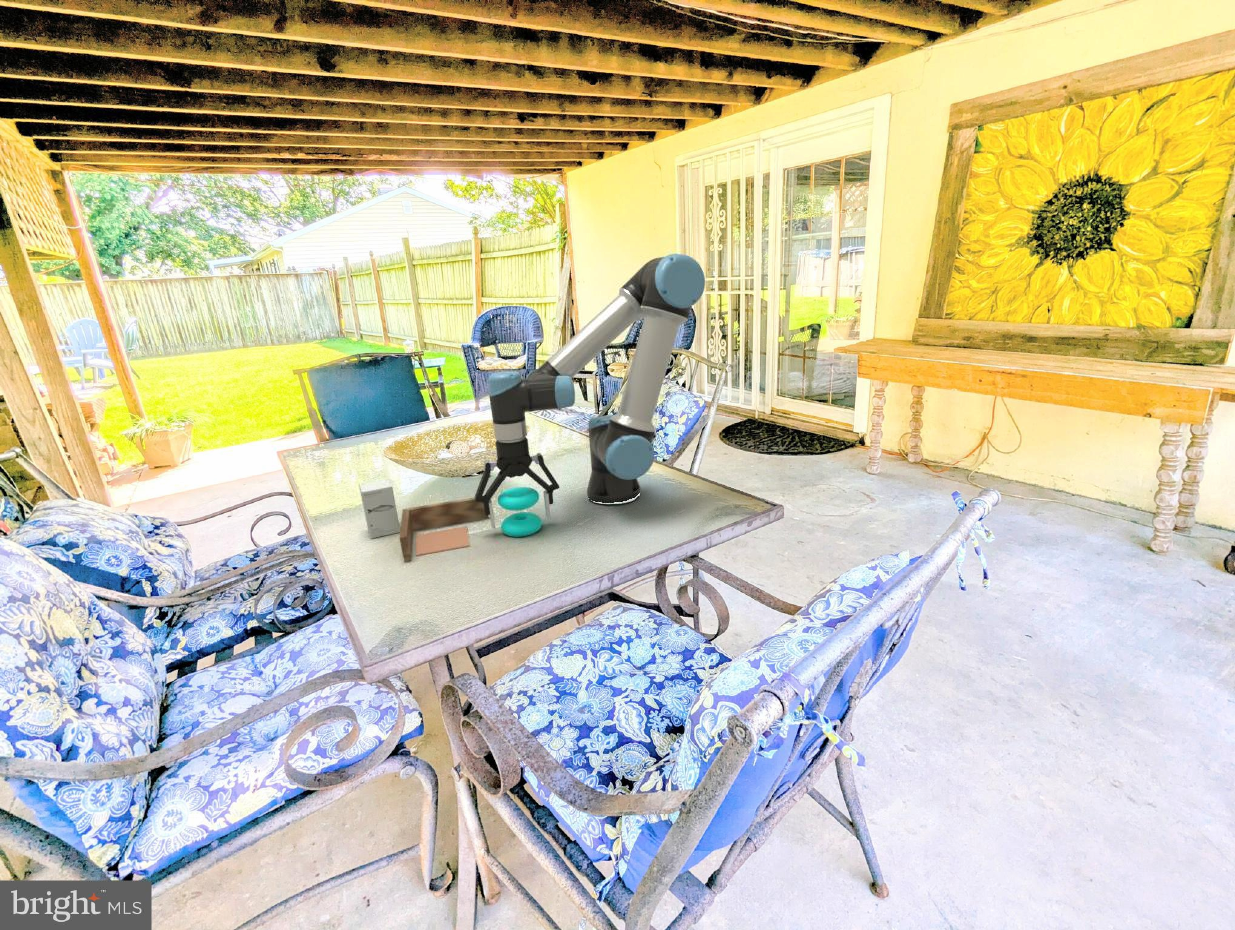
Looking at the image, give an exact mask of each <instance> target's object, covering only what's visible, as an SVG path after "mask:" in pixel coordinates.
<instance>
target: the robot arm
mask: <svg viewBox="0 0 1235 930" xmlns="http://www.w3.org/2000/svg"><path fill="white" fill-rule="evenodd" d="M705 287H706V278H705V273H704V271H703V269H702V267H701V265H700V263H699V262H698V261H697V260H696V259H694V258H693V257H691V256H689V255H687V254H682V253H681V254H680V253H679V254H678V253H670V254H668V255H666V256H662V257H661V256H660V257H656V258H653V259H651V260H649V261H648V262H646V263H644V264H643V265H642V267H641V268H640V269H638V270H637V272H636V273H634V275H632V276H631V277H630V279H628V281H627V282H625V283H624V285H622V286H621V287H620V288H619V290H618V291H619V292H618V295H617V296H616V297H615V298H614V299H613V300H612V301H611V302H610V303H609V304H607V305H606V306H605V307H604V308H603V309H602V310H601V311H600V312H599V313H598V314H596V316H594V317H593V318H592V319H591V320H590V321H589V322H588V323H587V324H585V325H584V327H582V328H581V329H580V330H579V331H578V332H577V333H576V334H574V335H573V336H572V337H571V338H570V339H569V340H568V341H567V342H566V343H564V344H563V345H562V346H561V348H559V349H558V350H557V351H556V352H554V354H552V356H550V357H549V358H548V359H547V360H546V361H545V362H543V364H541V366H540V367H538V368H536V369H533V370H532V371H530V372H529V373H528V374H527V376H526V379H525V378H523V379H522V376H521V373H520V372H519V371H517V370H516V371H513V370H512V371H507V370H506V371H499V372H494V373H491V374H490V375H489V376H488V379H487V381H488V396H489V397H488V398H489V403H490V404H489V405H490V412H491V418H492V424H493V425H492V426H493V435H494V439H495V440H496V441H495V449H496V456H497V458H496V461H489V460H485V461H484V463H483V464H484V471H483V473H482V476H481V479H480V481H479V484H478V486H477V489H476V491H475V495H474V497H475V500H476V502H482V503H483V504H484V510H485V514H486V516H487V515H489V520H490V525H491V528H492V529H496V521H495V514H494V506H493V505H494V504H493V502H492V498H493V497H494V495H495V494H496V492H497V491H498V489H499V488H500V486H501V485H502V483H503V482H504V481H505V480H506V478H510V479H511V478H512V479H513V478H515V477H523V476H524V475H525V474H526V475H528V477H529V478H531V479H532V480H534V482H536V483H537V484H538V485H539V486H540V487H542V489H543V490H542V491H543V493H542V494H543V500H544V502H543V503H544V509H545V510H544V511H545V516H546V518H547V519H548V520H549V519H551V518H552V516H551V515H552V514H551V507H550V506H551V505H554V494H553V493H554V491H555V490H559V489H560V485H559V484H558V482H557V481H556V479H555V477H554V476H553V474H552V473H551V472H550V470H549V468H548V467H547V465H546V464H545V459H544V456H543V455H542V453H540V452H538V453H536V454H535V455H530V448H529V441H528V440H529V439H528V438H527V436H528V430H527V422H526V413H528V412H529V413H530V412H537V411H548V410H562V409H565V408H571V407H573V406H574V404H575V402H576V391H575V385H574V380H573V377H575V376H576V375H577V374H578V373H580V372H581V370H582V369H584V368H585V367H586V366H587V365H588V364H589V363H590V362H592V360H594V359H595V358H596V357H597V356H598V355H599V354H600V353H602V352H603V351H604V350H605V349H606V348H607V347H608V346H609V345H610V344H611V343H612V342H613V341H615V340H616V339H617V338H618V337H619V336H620V335H621V334H622V333H624V331H626V330H627V329H628V328H629V327H630V326H631V325H632V324H633V323H634V322H636V321H637V320H638V319H643V321H642V324H641V328H640V329H641V330H640V333H639V336H638V340H637V344H636V346H635V350H634V355H633V356H632V357H633V358H632V362H631V364H630V365H631V366H630V369H629V371H628V376H627V380H626V383H625V386H624V390H623V394H622V398H621V401H620V405H619V409H618V412H617V413H615V414H609V415H601V416H596V417H593V418H590V419H589V421H588V425H587V426H588V427H587V431H588V438H589V439H588V441H589V451H590V452H589V453H590V464H591V466H590V467H591V472H590V476H589V481H588V485H587V488H586V495H587V496H588V498H589V499H590V500H592V501H595V502H602V503H614V502H623V501H627V500H629V499H632V498H635V497H636V496H637V495H638V494H639V493H640V490H641V485H640V482H639V480H638V478H640V477H642V476H644V475H645V474H646V473H648V472H649V470H650V469H651V467H652V465H653V464H654V460H655V451H654V446H653V445H652V444H653V443H652V442H653V441H654V440H653V439H654V437H655V433H656V429H655V427H654V425H653V418H654V414H655V412H656V407H657V404H658V401H659V397H660V394H661V389H662V386H663V385H664V381H665V377H666V373H667V369H668V366H669V362H670V359H671V356H672V353H673V350H674V345H675V343H676V340H677V339H676V338H677V335H678V332H679V327H680V326H681V325H683V324H684V323H686V322H688V320H689V318H690V317H689V316H690V314H691V310H692V307H693V306H694V305H695V304H696V303H698V301H699V300H700V299H702V296H703V294H704V291H705ZM533 462H534V464H536V465H539V466H540V468H541V470H542V471H543V473H544V474H545V476H546V478H547V479H548V480H549V481H550V483H551V484H548V483H547V482H546V481H545V480H544V479H542V477H540V476H539V475H538V474H537V473H536V472H534V470H532V468H531V464H532V463H533ZM496 467H497V468H498V470H499V472H498V473H497V476H496V477H495V479H494V480H493V482H491V484H490V485H489V488H488V489H487V490H486V487H487V484H488V482H489V479H490V477H491V472H493V471H494V469H495V468H496ZM485 490H486V491H485ZM484 492H485V493H484ZM588 498H587V499H588Z"/></svg>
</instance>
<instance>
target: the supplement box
mask: <svg viewBox="0 0 1235 930" xmlns="http://www.w3.org/2000/svg"><path fill="white" fill-rule="evenodd" d="M358 487H359V491H360V497H361V502H362V506H363V511H364V517H365V522H366V526H367V530H368V534H369V538H370V540H372V539H375V538H378V537H379V538H380V537H384V536H388V535H392V534H398V533H399V534H400V529H401V523H400V521H399V520H400V519H399V515H398V512H397V505H396V499H395V494H394V489H393V485H392V482H391V479H390V478H387V479H382V480H376V481H371V482H366V483H365V482H364V483H361V484H359V486H358Z"/></svg>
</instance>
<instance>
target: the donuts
mask: <svg viewBox="0 0 1235 930" xmlns="http://www.w3.org/2000/svg"><path fill="white" fill-rule="evenodd" d="M539 499H540V494H539V491H538V490H536V489H535V488H532V487H528V486H518V487H517V486H516V487H512V488H508V489H506V490H503V491H502V492H501V493H500V494H499V495H498V497H497V502H498V505H499V506H500V507H501V509H504V510H507V511H513V512H515V511H521V512H515V513H512V514H511V515H508V516H507V517H505V518H504V519H503V520H502V522H501V525H500V528H501V531H502V532H503V533H504V534H505V535H507V536H509V537H515V538H517V537H519V538H520V537H527V536H530V535H533V534H535V533H537V532H538V531H540V529H541V527H542V525H543V521H542V519H541V517H540V516H539V515H537V514H536V513H534V512H530V511H529V512H528V511H523V510H528V509H529V508H532V507H534V506H535V505H536V504H537V503H538V502H539ZM522 511H523V512H522Z"/></svg>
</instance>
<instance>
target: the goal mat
mask: <svg viewBox="0 0 1235 930" xmlns="http://www.w3.org/2000/svg"><path fill="white" fill-rule="evenodd" d="M467 527H468V526H467V525H466V526H464V525H463V526H459V527H454V528H448V529H441V530H435V531H431V532H430V531H429V532H426V533H420V534H416V544H415V548H416V549H415V557H420V556H426V555H429V554H436V553H441V552H442V553H443V552H447V551H452V550H456V549H457V550H458V549H463V548H468V547H471V546H470V540H469V534H468V528H467Z"/></svg>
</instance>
